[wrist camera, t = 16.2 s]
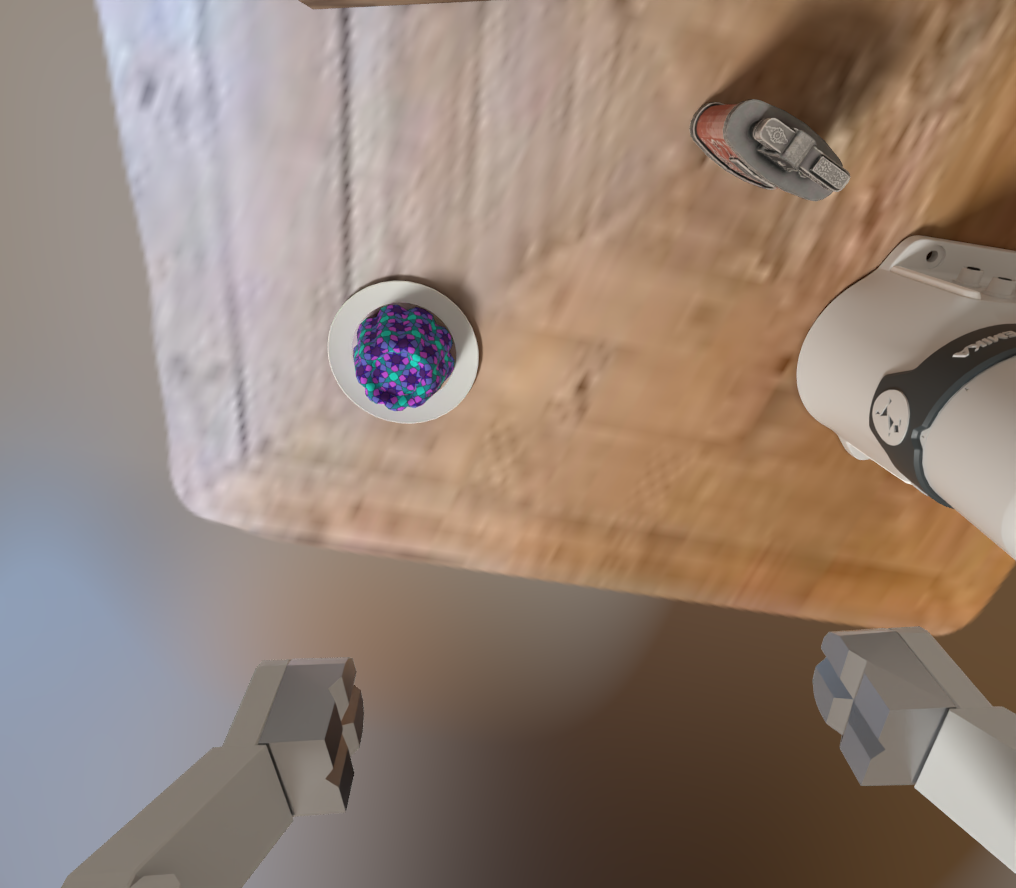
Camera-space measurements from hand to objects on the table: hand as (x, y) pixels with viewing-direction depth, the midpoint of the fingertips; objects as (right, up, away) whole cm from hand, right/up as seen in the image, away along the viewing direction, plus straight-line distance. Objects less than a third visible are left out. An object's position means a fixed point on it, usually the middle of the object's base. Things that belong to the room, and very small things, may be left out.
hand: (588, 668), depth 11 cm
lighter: (+15, +25, +32) cm, 43 cm away
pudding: (-10, +11, +39) cm, 42 cm away
